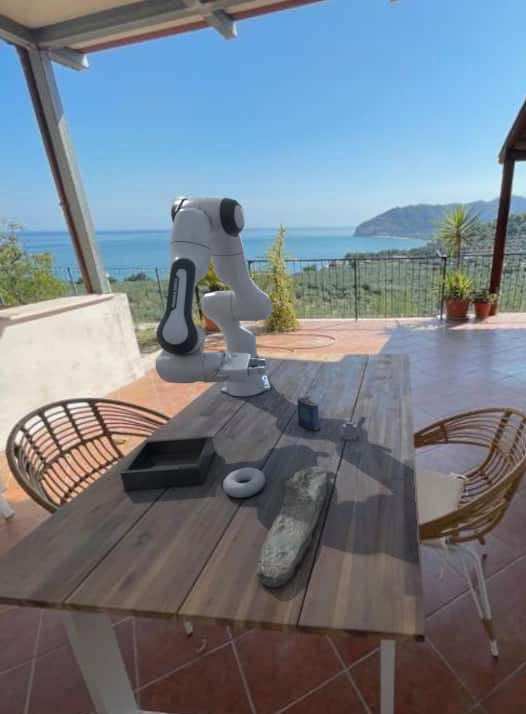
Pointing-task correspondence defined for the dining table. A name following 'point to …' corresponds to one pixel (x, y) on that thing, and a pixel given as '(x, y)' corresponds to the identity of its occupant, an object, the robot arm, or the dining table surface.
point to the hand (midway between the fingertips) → (265, 365)
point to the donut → (247, 489)
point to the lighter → (352, 428)
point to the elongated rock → (293, 526)
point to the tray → (168, 463)
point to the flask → (308, 413)
